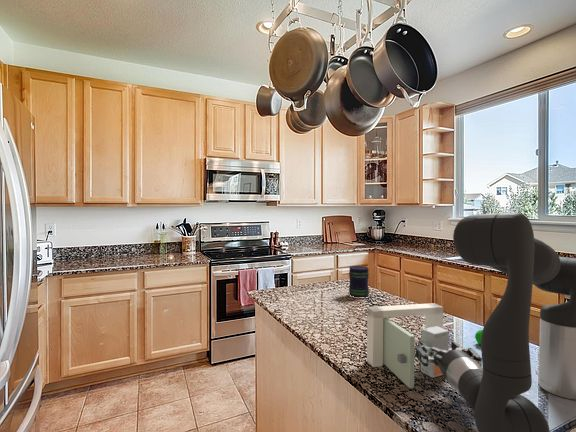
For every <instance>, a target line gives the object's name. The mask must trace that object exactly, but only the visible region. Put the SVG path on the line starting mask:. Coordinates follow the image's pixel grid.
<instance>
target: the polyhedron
mask: <svg viewBox="0 0 576 432" xmlns="http://www.w3.org/2000/svg"><path fill="white" fill-rule="evenodd" d="M482 331H483V329H481V330H477V332H475V335H474V338H475V341H476V342H477V344H479V345H480V346H481V335H482Z"/></svg>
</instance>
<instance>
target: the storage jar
mask: <svg viewBox="0 0 576 432" xmlns="http://www.w3.org/2000/svg"><path fill="white" fill-rule="evenodd" d="M369 268H370V267H368V266H363V265H352V266H349V272H348V275H349V276H348V277H349V287H348V293H349V294H350V295H351V296H354V297H368V298H369V292H370V291H369V278H370V277H369V275H370V273H369V270H370V269H369Z"/></svg>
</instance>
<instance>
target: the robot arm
mask: <svg viewBox="0 0 576 432" xmlns="http://www.w3.org/2000/svg"><path fill="white" fill-rule="evenodd" d="M452 236H453V237H452V239H453V244H454V245H453V246H454V247H455V250H456V252H457V254H458V255H459V257H460V258H461V259H462V260H464V262H466V263H468V264H469V265H474V266H483V267H489V268H491V269H494V270H497V271H499V272H501V273H503V274H505V275H507V282H506V283H507V284H506V288H505V291H504V293H503V295H502V297H501V298H500V300H499V302H498V304H497V305H496V307H495V308H494V309H493V311H492V312H491V313H490V315H489V317H488V318H487V320H486V322H485V323H484V326H483V328H482V330H483V331H482V335H481V345H480V348H481V352H480V353H481V355H480V354H479V352H477V351H476V350H475V349H474V348H472V347H467V348H466V347H464V346H461V344H459V343H457V342H456V341H452V340H451V343H450V349H451V350H448V351H446V350H441V349H438V348H435V347H431V348H430V347H428V346H426V344H425V343H424V342H423V341H422V339H420V340H418V341H417V345H415V353H414V357H415V358H417V360H418V361H419V362H420V364H421V363H422V364H423V365H424V366H428V363H434V364H435V365H437V366H439V368H440V370H441V372H442V374H443V375H442V376H443V377H444V378H445V379H446V380H447V381H448V383H449V384H450V385H451V386H452V387H453V390H455V391H456V392H457V393H458V394H459V395H460V396H461V397H462V398H463V400H464V401H465V402H466V403H467V404H468V405H469V406H470V407H471V408H472V410H473V411H474V421H475V427H476V428H477V432H550V426H549V423H548V420H547V418H546V417H545V415H544V414H543V412H542V410H540V409H539V407H538V406H537V405H536V404H534V402H532V401H531V400H530V399H528V398H527V397H525V396H524V395H522V394H524V393H527V392H529V390H531V388H532V385H533V383H532V382H533V377H532V376H533V375H532V366H531V365H532V364H531V354H530V353H531V351H530V336H529V334H530V317H531V308H532V296H533V285H534V286H535V287H536V288H537V289H539V290H541V291H544V292H548V293H553V294H559V295H565V296H569V300H568V301H566V302H561V303H555V304H553V303H552V304H546V305H543V306H542V307H540V310H539V342H538V343H539V346H538V347H539V349H538V351H539V352H538V386H539V387H540V388H541V389H543V390H544V391H546V392H548V393H550V394H553V395H555V396H558V397H561V398H565V399H569V400H576V257H567V256H566V257H565V256H559V255H558V253H557V252H556V251H555V249H554V248H553V247H551V246H550V245H548V244H547V243H545V242H544V241H542V240H540V239H538V238H535V235H534V230H533V225H532V222H531V221H530V219H529V218H528V216H526V214H523V213H522V212H500V213H499V212H497V213H480V214H472V215H471V214H470V215H468V216H465V217H463V218H462V219H460V220H459V221H458V222H457V224H456V225H455V227H454V230H453V235H452ZM427 350H428V351H429V354H428V353H427ZM435 352H437V353H436V354H435Z"/></svg>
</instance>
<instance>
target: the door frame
mask: <svg viewBox="0 0 576 432" xmlns="http://www.w3.org/2000/svg"><path fill="white" fill-rule="evenodd" d="M366 309H367V311H366V312H367V313H366V314H367V316H366V318H367V319H366V320H367V321H366V324H367V325H366V339H367V340H366V362H368V364H369V365H370V366H371V367H372V368H379V367H383V365H384V363H383V318H396V317H397V318H398V317H399V318H400V317H411V316H412V317H414V316H415V317H416V316H425V328H424V329H426V328H429V327H436V326H438V327H440V328H443V329H444V327H443V325H444V307H443V306H441V305H439V304H437V303H434V302H432V303H429V302H428V303H417V304H416V303H415V304H413V303H412V304H398V305H397V304H396V305H384V306H383V305H382V306H368V307H367V308H366Z"/></svg>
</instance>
